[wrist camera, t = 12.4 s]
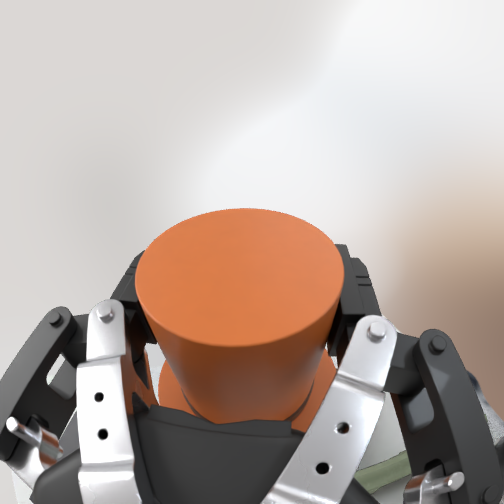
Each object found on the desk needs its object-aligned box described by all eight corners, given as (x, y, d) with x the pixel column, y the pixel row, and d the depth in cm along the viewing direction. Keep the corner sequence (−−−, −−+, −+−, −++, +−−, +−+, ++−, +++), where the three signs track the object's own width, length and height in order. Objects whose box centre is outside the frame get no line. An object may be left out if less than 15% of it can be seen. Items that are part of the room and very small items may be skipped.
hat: (343, 333, 15) (379, 207, 10) (318, 485, 8) (405, 445, 3) (200, 306, 17) (177, 185, 12) (133, 429, 10) (32, 327, 5)
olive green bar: (305, 481, 20) (474, 412, 22) (310, 506, 18) (480, 430, 20) (318, 478, 16) (503, 391, 18) (324, 509, 14) (511, 411, 16)
